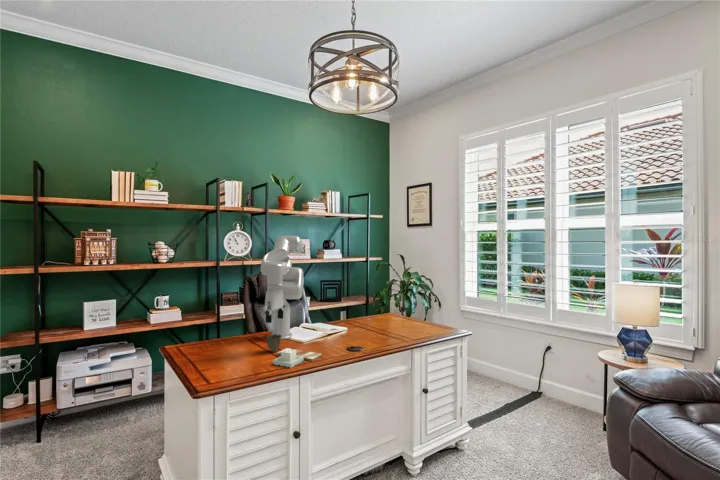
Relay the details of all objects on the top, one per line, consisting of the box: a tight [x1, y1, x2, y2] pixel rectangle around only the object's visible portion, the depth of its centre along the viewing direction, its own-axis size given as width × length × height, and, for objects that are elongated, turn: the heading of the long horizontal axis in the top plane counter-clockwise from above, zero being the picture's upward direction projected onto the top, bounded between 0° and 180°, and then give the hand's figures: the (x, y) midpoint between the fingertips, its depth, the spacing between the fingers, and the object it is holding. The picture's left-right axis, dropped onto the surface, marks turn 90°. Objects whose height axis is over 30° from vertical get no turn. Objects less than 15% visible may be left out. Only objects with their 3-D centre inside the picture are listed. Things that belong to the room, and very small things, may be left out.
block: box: [280, 348, 297, 363], centre depth 173 cm, size 5×5×5 cm
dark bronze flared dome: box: [266, 334, 282, 353], centre depth 190 cm, size 8×7×8 cm
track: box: [275, 347, 323, 363], centre depth 183 cm, size 21×9×1 cm, turn 65°
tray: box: [272, 356, 305, 369], centre depth 172 cm, size 10×10×2 cm
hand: (274, 320), depth 189 cm, fingers open, 9 cm apart
